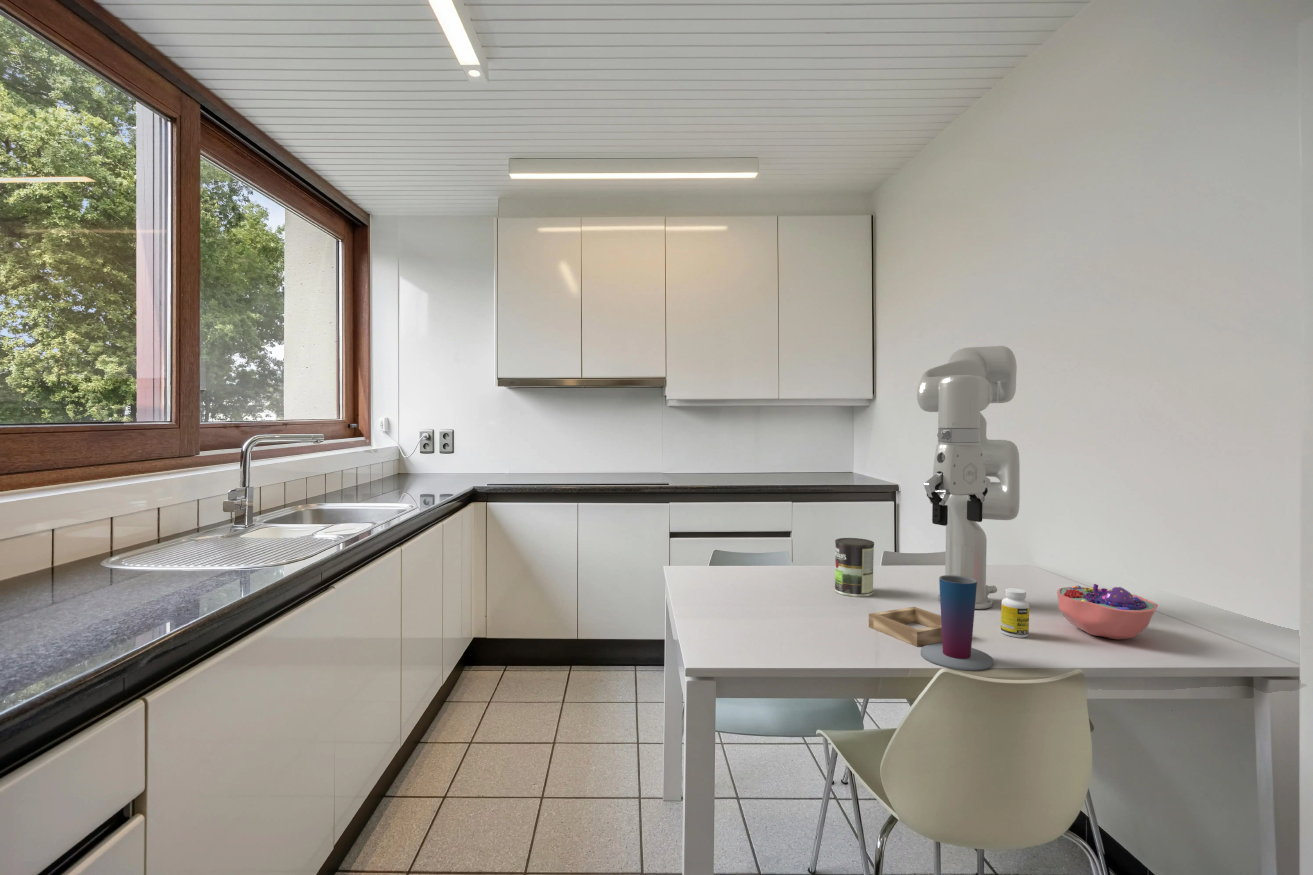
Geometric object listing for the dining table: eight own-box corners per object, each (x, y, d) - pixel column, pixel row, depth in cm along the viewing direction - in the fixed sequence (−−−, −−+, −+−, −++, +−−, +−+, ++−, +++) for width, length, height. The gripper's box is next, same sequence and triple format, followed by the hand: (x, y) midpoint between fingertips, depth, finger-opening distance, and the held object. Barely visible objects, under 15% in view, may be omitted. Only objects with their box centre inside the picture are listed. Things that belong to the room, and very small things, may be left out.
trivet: (952, 642, 136) (952, 640, 136) (1008, 664, 124) (1008, 660, 124) (906, 651, 130) (906, 648, 130) (960, 674, 119) (960, 671, 119)
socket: (914, 619, 152) (914, 606, 152) (964, 637, 139) (964, 623, 139) (868, 626, 146) (868, 613, 146) (916, 646, 134) (917, 632, 134)
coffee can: (843, 597, 171) (844, 544, 171) (828, 587, 181) (829, 537, 181) (880, 596, 172) (881, 544, 172) (863, 586, 182) (864, 537, 182)
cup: (941, 658, 125) (943, 582, 125) (934, 646, 132) (936, 574, 131) (979, 661, 123) (981, 584, 123) (970, 649, 130) (972, 576, 130)
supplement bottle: (1018, 639, 138) (1019, 594, 138) (995, 632, 143) (996, 588, 143) (1034, 635, 141) (1035, 591, 140) (1010, 628, 145) (1011, 585, 145)
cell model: (1097, 618, 153) (1098, 571, 153) (1179, 647, 134) (1180, 593, 133) (1035, 622, 150) (1036, 574, 150) (1109, 652, 131) (1110, 597, 130)
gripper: (942, 439, 121) (941, 529, 122) (1005, 437, 128) (1003, 522, 129) (911, 437, 128) (910, 523, 128) (972, 436, 135) (971, 516, 136)
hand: (957, 522), depth 129 cm, fingers open, 9 cm apart
